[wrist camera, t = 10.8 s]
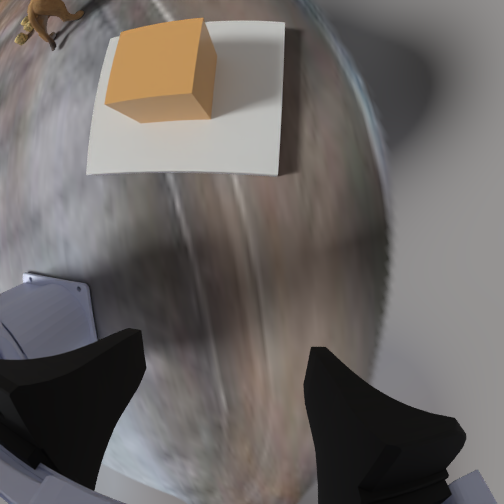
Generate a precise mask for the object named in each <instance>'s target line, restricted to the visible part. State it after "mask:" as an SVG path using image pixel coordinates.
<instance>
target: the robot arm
mask: <svg viewBox="0 0 504 504" xmlns="http://www.w3.org/2000/svg"><path fill="white" fill-rule="evenodd" d="M23 282H24V283H23V284H21V285H18V286H16V287H14V288H12V289H10V290H8V291H6V292H3V293H1V294H0V497H2V498H3V499H4V500H5V501H6V502H7V503H9V504H125V503H123V502H120V501H117V500H115V499H112V498H110V497H107V496H105V495H102V494H100V493H97V492H95V491H94V490H95V485H96V481H97V476H98V473H99V469H100V466H101V462H102V459H103V456H104V453H105V450H106V448H107V445H108V442H109V440H110V437H111V435H112V432H113V430H114V428H115V426H116V424H117V422H118V420H119V418H120V416H121V415H122V413H123V412H124V410H125V408H126V407H127V405H128V403H129V402H130V400H131V398H132V397H133V395H134V393H135V392H136V390H137V388H138V387H139V385H140V383H141V380H142V378H143V375H144V373H145V370H146V362H145V355H144V348H143V341H142V333H141V330H137V329H131V328H128V329H125V330H122V331H119V332H117V333H115V334H112V335H110V336H108V337H105V338H103V339H101V340H97V335H96V329H95V324H94V318H93V312H92V305H91V298H90V290H89V287H88V285H87V284H85V283H81V282H75V281H69V280H63V279H58V278H52V277H47V276H42V275H37V274H32V273H24V274H23ZM79 287H80V288H81V290H80V289H79ZM303 385H304V398H305V406H306V410H307V415H308V419H309V424H310V428H311V432H312V437H313V441H314V446H315V452H316V463H317V478H318V504H497V502H496V501H495V499H494V497H493V495H492V493H491V491H490V490H489V488H488V486H487V484H486V483H485V481H484V479H483V477H482V476H481V474H480V472H479V471H478V470H475V471H473V472H471V473H469V474H467V475H465V476H463V477H461V478H459V479H457V480H455V481H453V482H452V483H451V484H449V485H447V483H446V481H445V479H447V478H448V476H449V474H448V472H447V470H446V468H447V467H448V466H449V464H450V463H451V462H452V461H453V460H454V458H455V457H456V456H457V454H458V453H459V452H460V450H461V449H462V448H463V446H464V443H465V441H466V433H465V432H464V430H463V429H462V428H461V426H460V424H459V423H458V422H457V420H456V419H455V418H452V417H447V416H442V415H437V414H433V413H429V412H426V411H422V410H419V409H416V408H414V407H411V406H408V405H406V404H404V403H401V402H399V401H397V400H395V399H393V398H391V397H389V396H387V395H385V394H384V393H382V392H380V391H379V390H377V389H375V388H374V387H372V386H371V385H369V384H368V383H367V382H365V381H364V380H363V379H361V378H360V377H359V376H357V375H356V374H355V373H354V372H353V371H351V370H350V369H349V368H348V367H347V366H346V365H345V364H343V363H342V362H341V361H340V360H339V359H338V358H337V357H336V356H335V355H334V354H333V353H332V352H331V351H329V350H328V349H327V348H326V347H311V350H310V355H309V360H308V365H307V370H306V375H305V380H304V384H303Z"/></svg>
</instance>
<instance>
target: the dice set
mask: <svg viewBox="0 0 504 504" xmlns="http://www.w3.org/2000/svg"><path fill="white" fill-rule="evenodd" d="M21 25H23V26H24V30H26V31H29V32H31V31H32V30H33V29H34V28H33V27H32V25H31V23H30V21H29V18H28V16H26V17H25V18H24V19H23V20H22V22H21ZM27 38H28V36H27V35H26V34H24V33H22V32H21V33H20V34H18V36H17V37H16V39H15V43H17V44H19V45H23V44H24V43H25V42H26V40H27Z"/></svg>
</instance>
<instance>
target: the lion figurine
mask: <svg viewBox="0 0 504 504" xmlns="http://www.w3.org/2000/svg"><path fill="white" fill-rule="evenodd" d="M27 13H28V18H29V21H30V23H31V25H32V27H33V28H34V29H35V30H36V31H37V32H38V33H39V36H40V37H41V38H42V39H43V40H45V41H46V42H49V44H50V46H51V48H52V51H54V50H55V48H56V43H55V42H54V40H53V39H54V38H55V36H56V34H55V32H52V33H51V34H50V35H48V33H47V20H48V16H57V17H60V18H61V20H62V21H63V22H66V21H72V20H77V19H79V18H81V17H82V16H83V14H84V11H81V10H80V11H77V12H76V13H75V14H70V13H69V12H68V11H67V9H66V7H65V4H64V2H63V1H61V0H31V2H30V4H29V6H28V11H27Z"/></svg>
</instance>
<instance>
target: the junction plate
mask: <svg viewBox="0 0 504 504" xmlns="http://www.w3.org/2000/svg"><path fill="white" fill-rule="evenodd" d="M205 24H206V26H207V29H208V32H209V34H210V37H211V40H212V43H213V45H214V48H215V51H216V54H217V63H216V72H215V82H214V91H213V102H212V113H211V119H209V120H180V121H164V122H152V123H142V124H141V123H139V122H137V121H135V120H133V119H132V118H130V117H128V116H126V115H124V114H122V113H120V112H118V111H116V110H114V109H112V108H110V107H108V106H106V105H104V103H105V97H106V92H107V86H108V81H109V77H110V72H111V68H112V64H113V59H114V55H115V52H116V48H117V44H118V41H119V37H120V36H119V37H115V38H111V39H110V42H109V45H108V49H107V52H106V56H105V60H104V63H103V67H102V71H101V76H100V80H99V85H98V89H97V94H96V99H95V105H94V111H93V117H92V124H91V131H90V139H89V148H88V159H87V172H86V175H111V174H135V173H216V174H241V175H258V176H273V177H277V176H278V166H279V150H280V132H281V112H282V91H283V67H284V38H285V23H284V22H269V21H215V22H205Z"/></svg>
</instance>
